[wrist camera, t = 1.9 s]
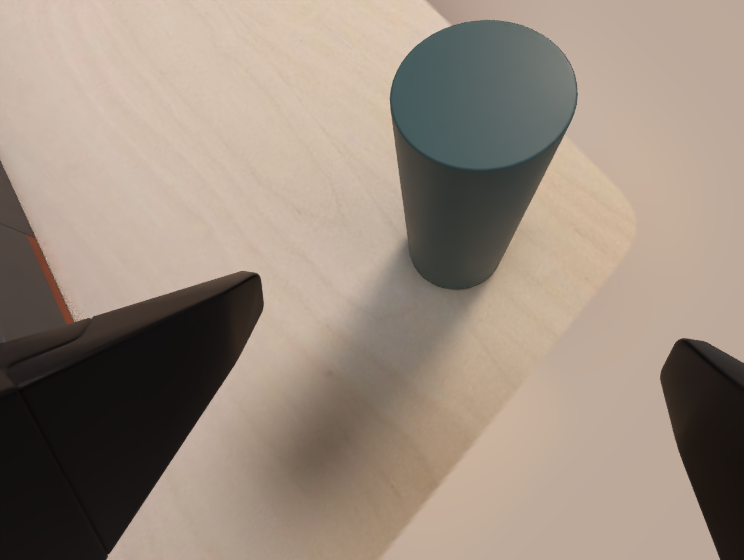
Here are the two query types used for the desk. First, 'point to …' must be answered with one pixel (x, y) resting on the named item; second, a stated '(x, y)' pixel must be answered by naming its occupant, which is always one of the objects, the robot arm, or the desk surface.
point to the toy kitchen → (24, 275)
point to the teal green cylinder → (475, 141)
